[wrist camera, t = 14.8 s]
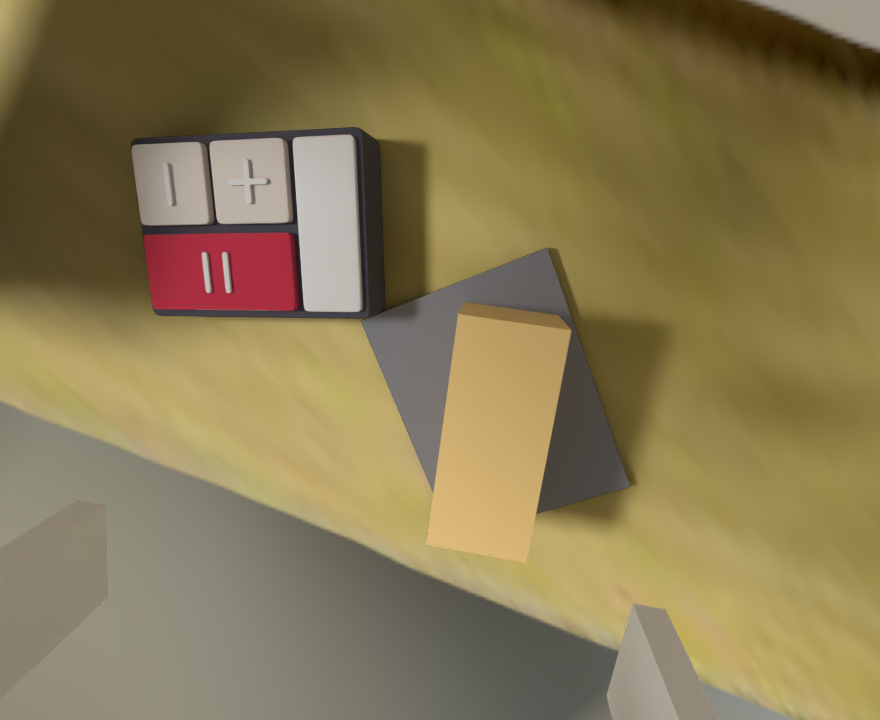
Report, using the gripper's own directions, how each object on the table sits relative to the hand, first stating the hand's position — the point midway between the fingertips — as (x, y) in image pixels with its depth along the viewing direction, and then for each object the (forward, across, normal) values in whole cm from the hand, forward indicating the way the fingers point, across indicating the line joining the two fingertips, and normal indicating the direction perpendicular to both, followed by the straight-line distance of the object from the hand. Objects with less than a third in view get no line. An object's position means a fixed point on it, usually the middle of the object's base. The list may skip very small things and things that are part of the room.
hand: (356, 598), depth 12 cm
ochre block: (+19, +4, -9) cm, 21 cm away
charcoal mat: (+22, +4, -2) cm, 23 cm away
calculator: (+24, -13, +8) cm, 28 cm away
